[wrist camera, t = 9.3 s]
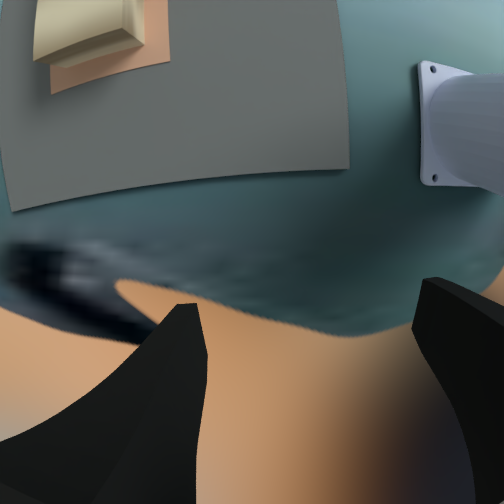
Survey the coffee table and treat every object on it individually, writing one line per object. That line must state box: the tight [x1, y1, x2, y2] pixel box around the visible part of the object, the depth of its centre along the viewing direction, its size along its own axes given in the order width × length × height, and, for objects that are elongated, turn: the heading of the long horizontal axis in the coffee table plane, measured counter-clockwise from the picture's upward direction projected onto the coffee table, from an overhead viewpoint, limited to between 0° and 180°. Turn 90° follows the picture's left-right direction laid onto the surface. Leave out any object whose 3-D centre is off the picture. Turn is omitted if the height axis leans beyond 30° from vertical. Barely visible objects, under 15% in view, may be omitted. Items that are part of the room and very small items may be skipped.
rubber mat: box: [0, 0, 350, 212], centre depth 12 cm, size 22×22×1 cm
